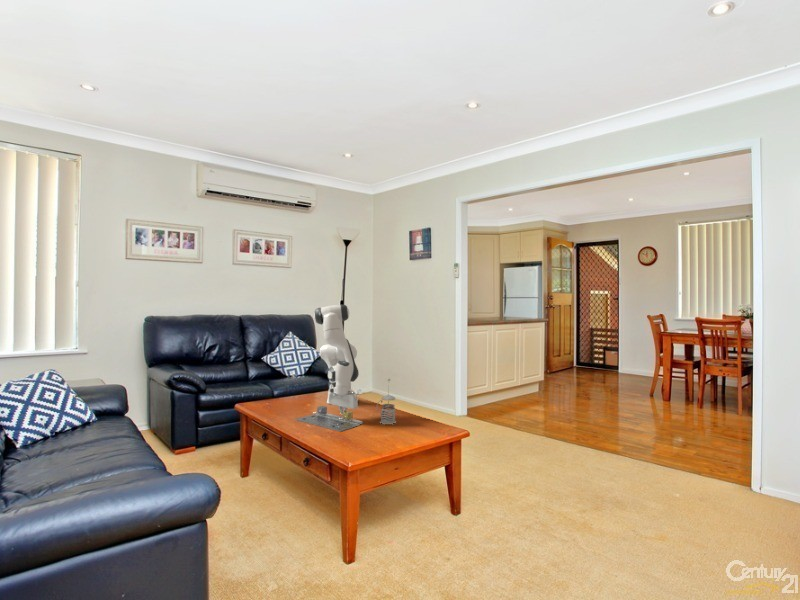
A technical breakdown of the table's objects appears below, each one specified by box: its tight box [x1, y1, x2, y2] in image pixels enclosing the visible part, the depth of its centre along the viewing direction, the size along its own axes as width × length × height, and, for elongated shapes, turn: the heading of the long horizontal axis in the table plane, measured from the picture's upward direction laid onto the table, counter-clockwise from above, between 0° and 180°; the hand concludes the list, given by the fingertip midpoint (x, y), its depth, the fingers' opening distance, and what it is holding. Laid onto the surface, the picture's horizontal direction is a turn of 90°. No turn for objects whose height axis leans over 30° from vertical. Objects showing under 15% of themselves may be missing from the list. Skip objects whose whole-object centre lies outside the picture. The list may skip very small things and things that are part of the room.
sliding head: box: [338, 410, 354, 420], centre depth 261 cm, size 9×4×4 cm, turn 143°
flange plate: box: [295, 413, 360, 433], centre depth 259 cm, size 14×36×1 cm, turn 53°
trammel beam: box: [312, 405, 364, 426], centre depth 265 cm, size 9×34×5 cm, turn 53°
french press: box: [376, 377, 397, 425], centre depth 262 cm, size 10×12×25 cm
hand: (342, 414), depth 265 cm, fingers closed
